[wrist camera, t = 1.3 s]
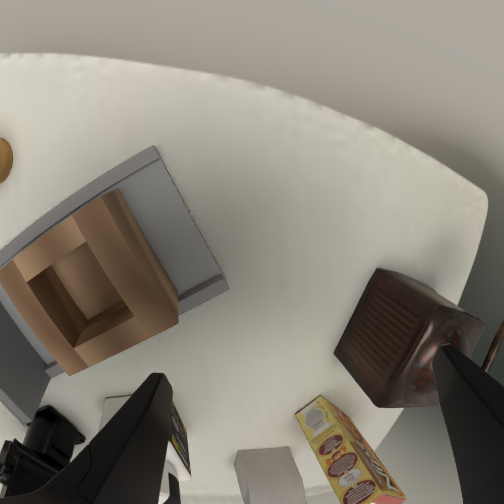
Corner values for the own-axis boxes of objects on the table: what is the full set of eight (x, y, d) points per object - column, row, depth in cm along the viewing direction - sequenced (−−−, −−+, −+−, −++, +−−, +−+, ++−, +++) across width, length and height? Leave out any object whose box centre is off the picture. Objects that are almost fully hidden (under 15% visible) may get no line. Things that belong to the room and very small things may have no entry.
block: (84, 341, 23) (69, 376, 18) (24, 252, 20) (-5, 274, 15) (178, 291, 23) (178, 323, 19) (118, 188, 20) (100, 195, 16)
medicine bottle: (187, 431, 30) (198, 520, 18) (129, 438, 28) (126, 523, 17) (168, 389, 27) (172, 490, 16) (104, 397, 26) (87, 491, 15)
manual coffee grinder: (396, 363, 34) (485, 454, 17) (330, 354, 30) (427, 481, 13) (452, 251, 31) (573, 310, 14) (395, 216, 27) (557, 281, 10)
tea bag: (238, 450, 32) (256, 514, 23) (288, 446, 34) (313, 504, 25) (233, 464, 33) (249, 524, 24) (281, 461, 35) (303, 516, 26)
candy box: (292, 414, 32) (344, 518, 18) (320, 392, 32) (384, 494, 18) (328, 435, 35) (377, 520, 21) (353, 417, 35) (409, 499, 21)
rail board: (47, 370, 24) (23, 424, 16) (-21, 272, 20) (-67, 308, 12) (225, 279, 25) (244, 329, 18) (155, 146, 21) (140, 138, 14)
